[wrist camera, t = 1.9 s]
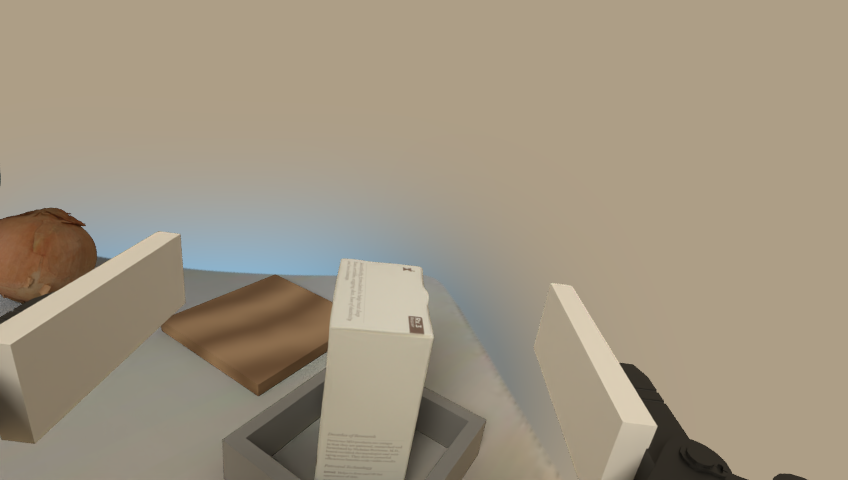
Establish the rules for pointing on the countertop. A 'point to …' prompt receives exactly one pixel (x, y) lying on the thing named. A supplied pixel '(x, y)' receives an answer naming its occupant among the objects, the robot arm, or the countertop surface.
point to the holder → (277, 425)
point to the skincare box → (373, 371)
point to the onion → (42, 253)
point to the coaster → (256, 331)
